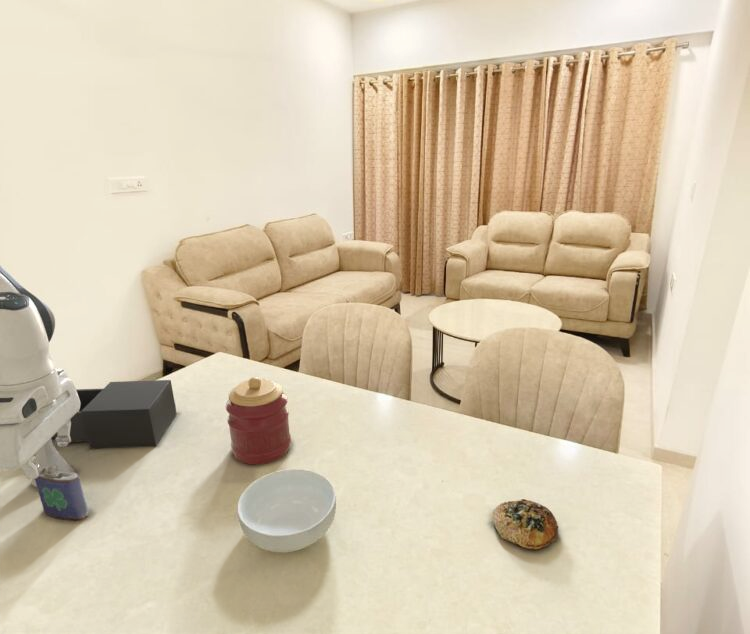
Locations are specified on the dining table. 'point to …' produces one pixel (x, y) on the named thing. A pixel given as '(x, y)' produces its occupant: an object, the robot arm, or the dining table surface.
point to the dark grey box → (129, 414)
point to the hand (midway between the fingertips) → (50, 459)
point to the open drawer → (80, 415)
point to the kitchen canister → (258, 421)
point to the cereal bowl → (287, 510)
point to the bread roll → (525, 523)
